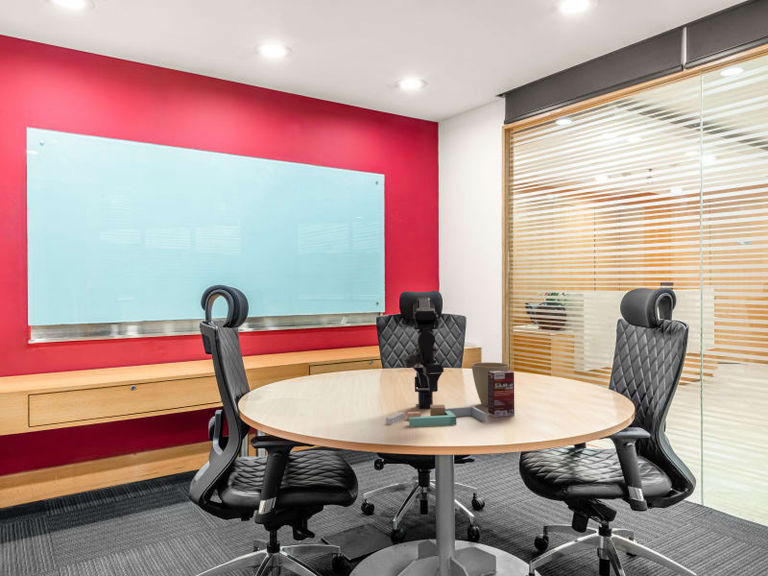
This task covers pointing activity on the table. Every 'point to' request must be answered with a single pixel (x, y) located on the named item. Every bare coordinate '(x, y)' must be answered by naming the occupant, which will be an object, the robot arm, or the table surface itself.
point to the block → (437, 410)
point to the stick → (395, 418)
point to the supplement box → (501, 393)
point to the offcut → (413, 414)
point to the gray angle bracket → (468, 412)
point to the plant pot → (485, 377)
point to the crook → (433, 420)
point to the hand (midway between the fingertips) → (426, 389)
